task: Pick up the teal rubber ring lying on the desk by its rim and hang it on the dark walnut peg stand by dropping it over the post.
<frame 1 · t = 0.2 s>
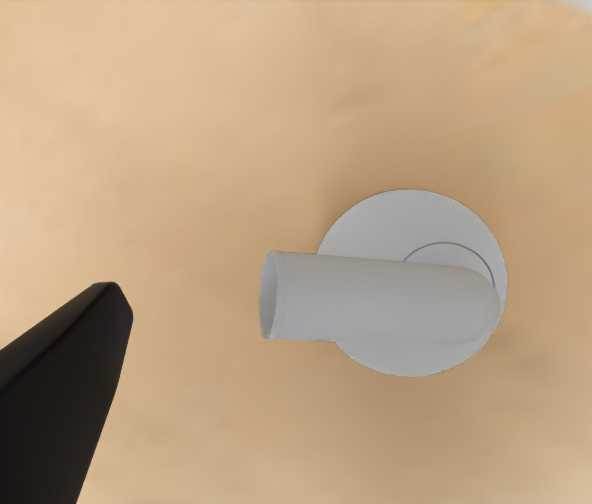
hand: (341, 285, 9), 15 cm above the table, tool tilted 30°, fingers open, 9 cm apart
wall hook: (388, 273, 23), on the table
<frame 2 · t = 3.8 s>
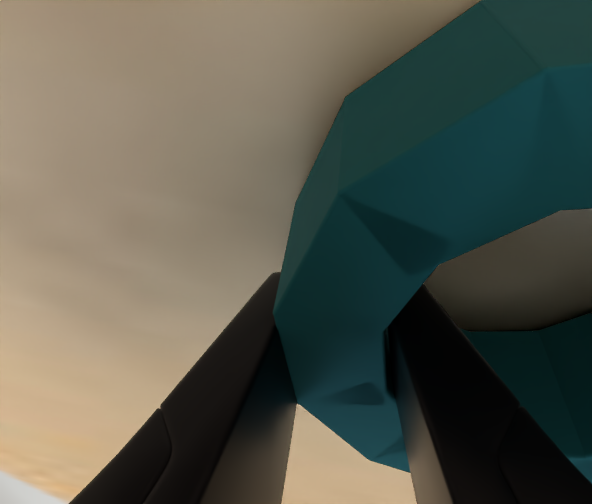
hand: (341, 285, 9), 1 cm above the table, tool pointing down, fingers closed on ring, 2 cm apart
ring: (521, 237, 9), on the table, touching gripper
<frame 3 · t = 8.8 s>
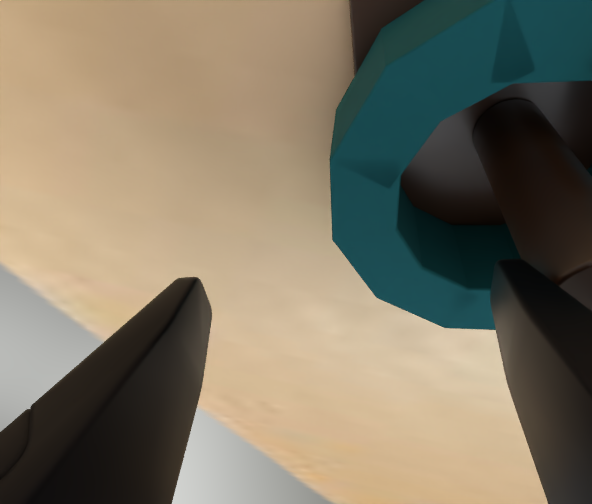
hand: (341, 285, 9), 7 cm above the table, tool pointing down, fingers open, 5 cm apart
ring: (492, 144, 13), point 1 cm above the table, touching peg stand
peg stand: (499, 116, 13), on the table
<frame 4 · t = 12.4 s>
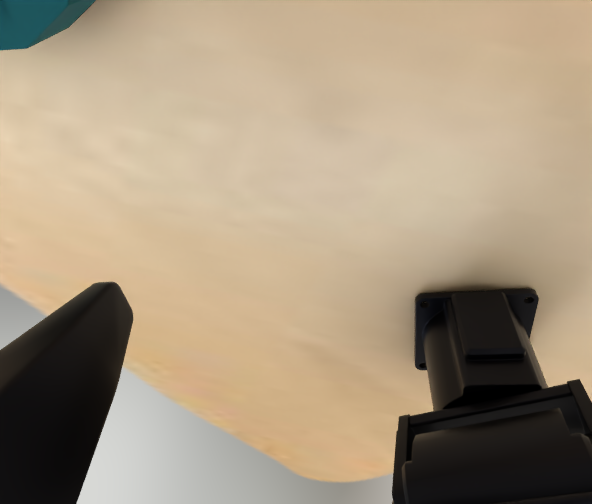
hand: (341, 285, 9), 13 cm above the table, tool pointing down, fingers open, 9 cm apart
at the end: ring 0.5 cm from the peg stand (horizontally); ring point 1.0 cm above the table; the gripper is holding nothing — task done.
